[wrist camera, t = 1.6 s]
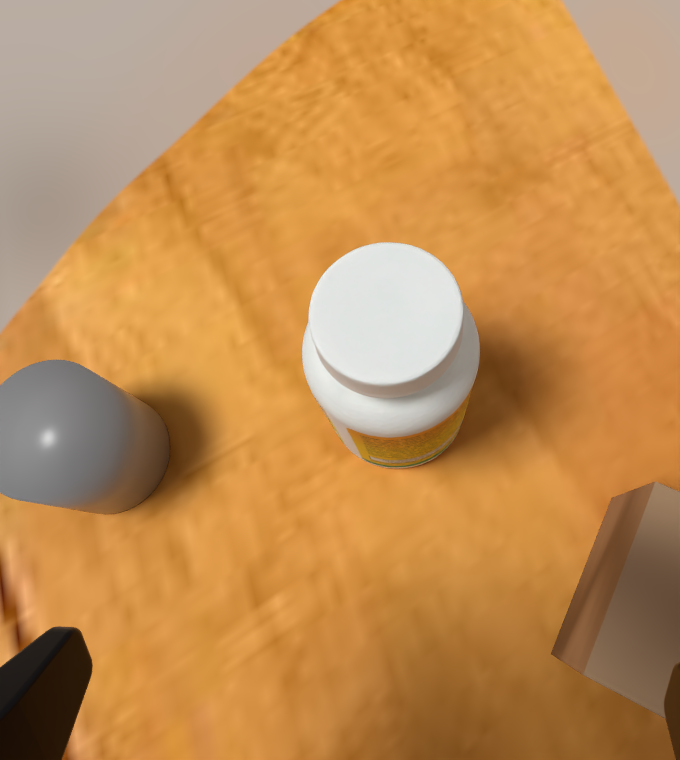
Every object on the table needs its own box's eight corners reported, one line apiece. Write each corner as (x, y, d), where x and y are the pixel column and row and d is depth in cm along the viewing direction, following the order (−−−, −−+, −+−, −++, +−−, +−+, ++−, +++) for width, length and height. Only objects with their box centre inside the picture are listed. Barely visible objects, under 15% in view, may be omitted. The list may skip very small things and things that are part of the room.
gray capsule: (101, 540, 24) (22, 533, 19) (37, 453, 26) (-50, 427, 21) (193, 455, 25) (139, 428, 20) (126, 375, 26) (60, 332, 22)
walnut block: (666, 714, 20) (732, 754, 16) (550, 653, 21) (583, 674, 17) (722, 548, 21) (798, 543, 17) (610, 498, 22) (655, 481, 18)
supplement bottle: (306, 415, 25) (237, 324, 15) (389, 320, 25) (370, 182, 16) (407, 500, 23) (397, 455, 14) (492, 396, 24) (535, 290, 15)
